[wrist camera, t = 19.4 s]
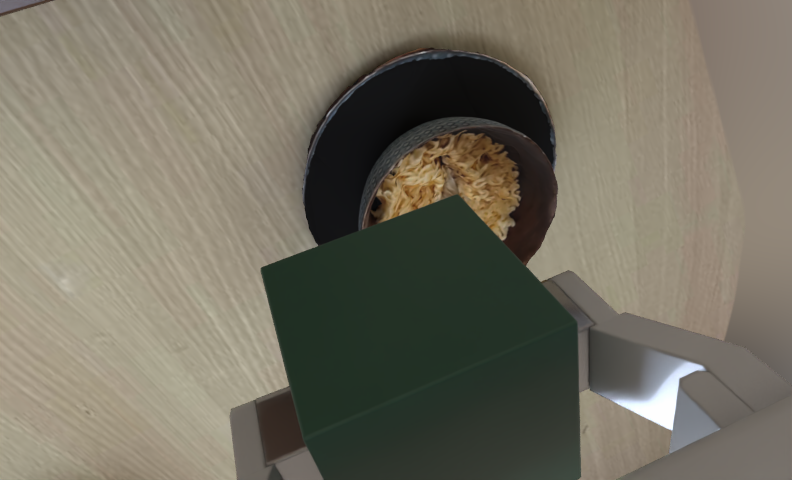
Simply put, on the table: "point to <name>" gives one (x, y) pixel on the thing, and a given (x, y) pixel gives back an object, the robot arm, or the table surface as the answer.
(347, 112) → the soup bowl
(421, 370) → the block
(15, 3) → the cabinet
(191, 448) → the table surface
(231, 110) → the table surface
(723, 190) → the table surface
